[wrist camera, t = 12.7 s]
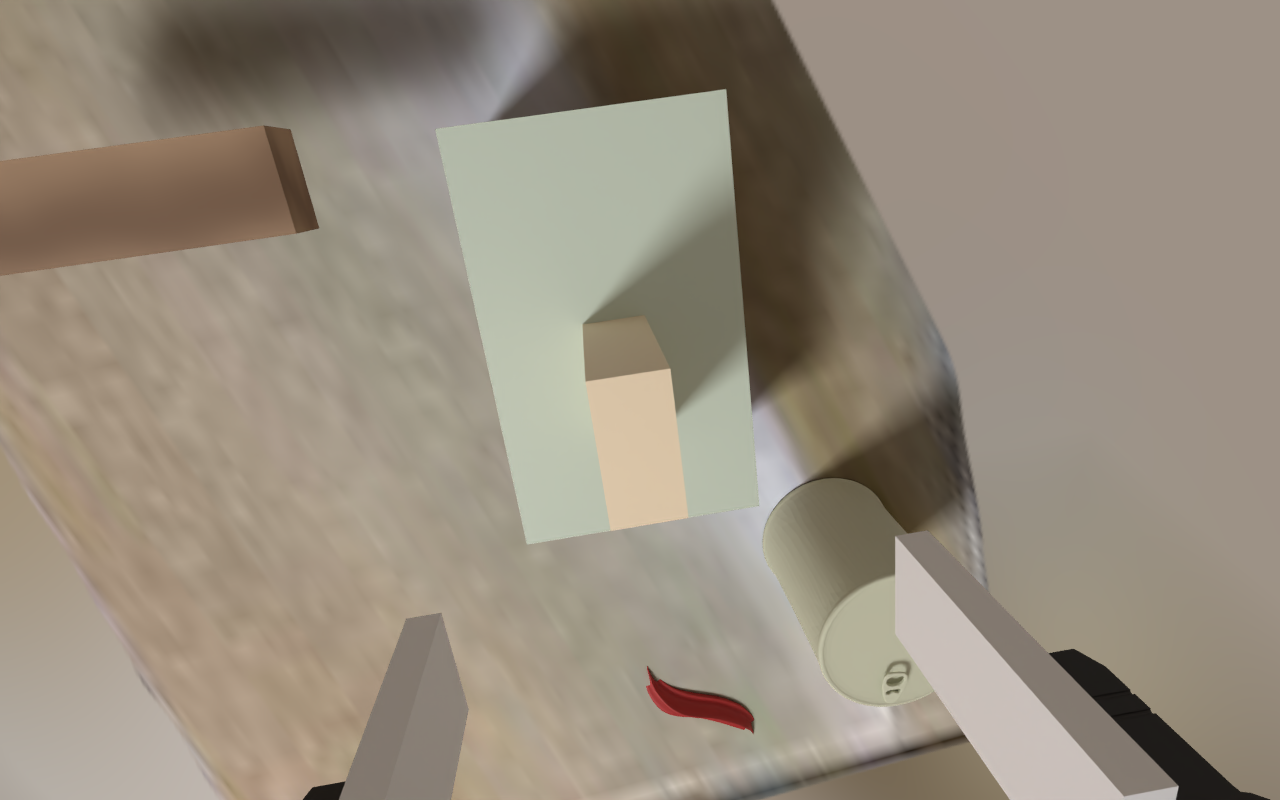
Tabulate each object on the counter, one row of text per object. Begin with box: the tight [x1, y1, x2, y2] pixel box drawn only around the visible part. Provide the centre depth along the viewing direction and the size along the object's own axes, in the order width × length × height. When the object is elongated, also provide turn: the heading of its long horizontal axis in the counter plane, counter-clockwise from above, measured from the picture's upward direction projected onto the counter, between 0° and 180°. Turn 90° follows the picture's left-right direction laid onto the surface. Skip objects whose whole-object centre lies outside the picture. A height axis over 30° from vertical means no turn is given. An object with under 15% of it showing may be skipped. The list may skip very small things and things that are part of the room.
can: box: [763, 478, 934, 707], centre depth 42 cm, size 9×9×12 cm
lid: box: [435, 89, 759, 544], centre depth 28 cm, size 21×13×10 cm, turn 8°
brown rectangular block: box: [0, 126, 319, 276], centre depth 26 cm, size 4×16×2 cm, turn 98°
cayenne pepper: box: [646, 666, 754, 733], centre depth 51 cm, size 12×5×2 cm, turn 42°
